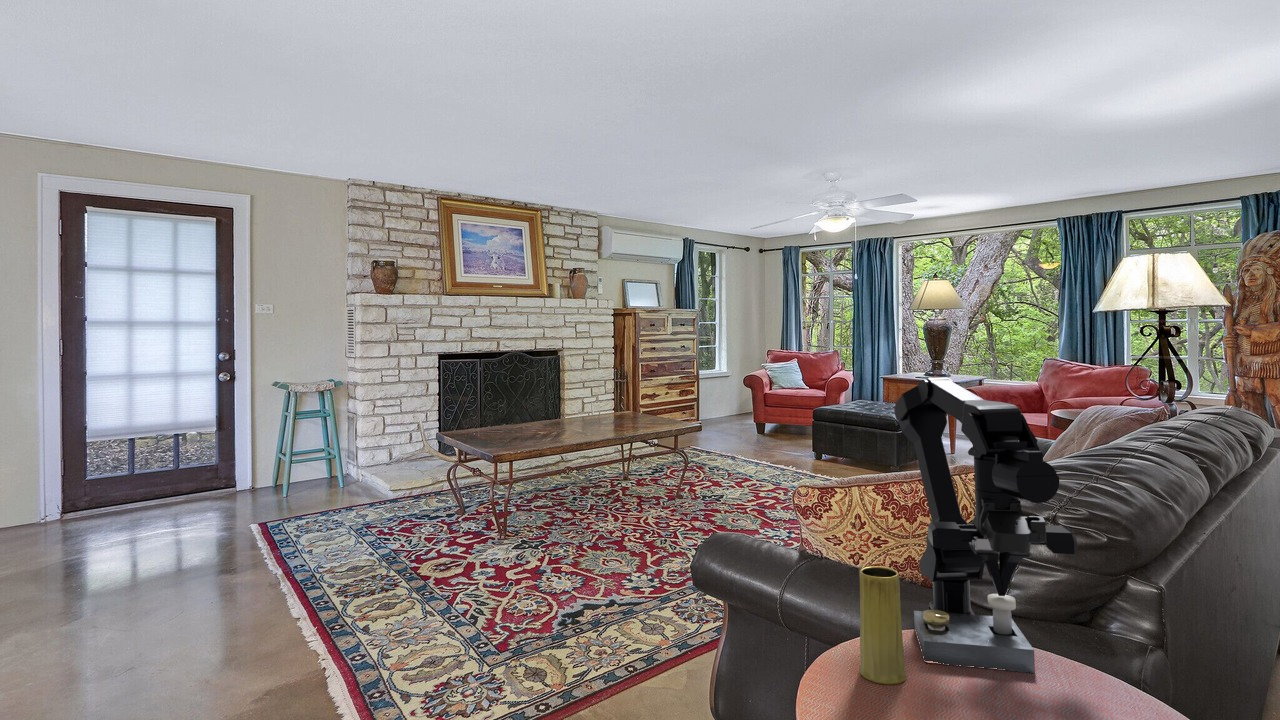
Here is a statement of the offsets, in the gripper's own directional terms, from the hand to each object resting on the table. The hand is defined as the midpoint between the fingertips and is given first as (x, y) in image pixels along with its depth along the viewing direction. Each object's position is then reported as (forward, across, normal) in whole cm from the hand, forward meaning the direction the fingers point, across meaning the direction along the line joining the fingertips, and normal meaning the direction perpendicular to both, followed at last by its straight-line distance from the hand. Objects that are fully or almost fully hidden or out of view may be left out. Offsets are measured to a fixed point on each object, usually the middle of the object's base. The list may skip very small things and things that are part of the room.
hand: (1001, 595), depth 95 cm
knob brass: (+8, -9, 0) cm, 12 cm away
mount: (+8, -4, 0) cm, 10 cm away
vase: (+9, -18, -11) cm, 22 cm away
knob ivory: (+6, 0, 0) cm, 6 cm away
